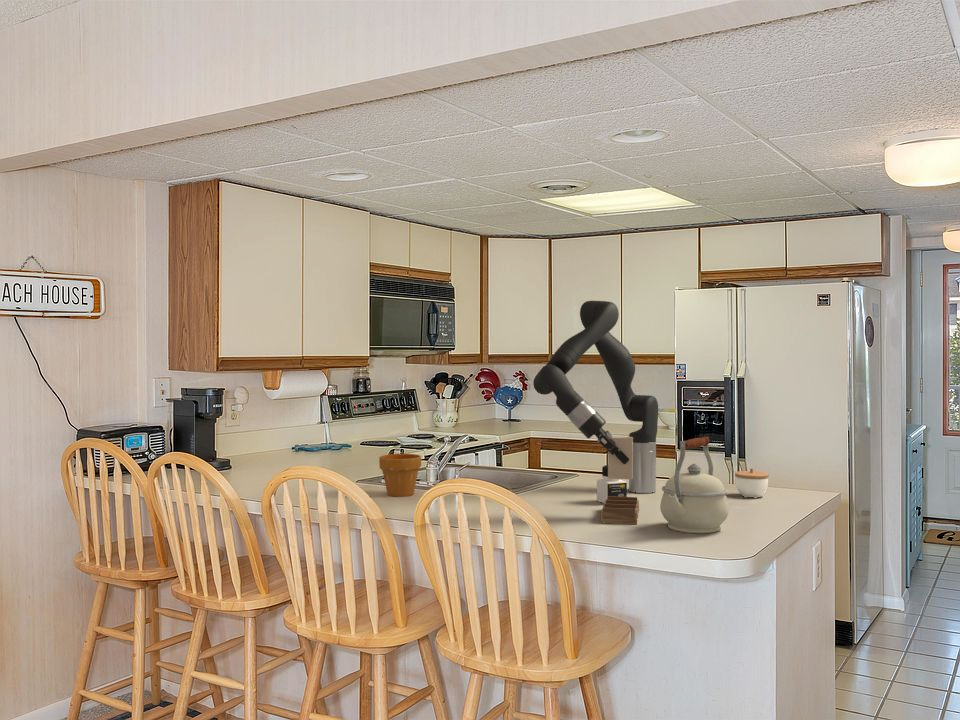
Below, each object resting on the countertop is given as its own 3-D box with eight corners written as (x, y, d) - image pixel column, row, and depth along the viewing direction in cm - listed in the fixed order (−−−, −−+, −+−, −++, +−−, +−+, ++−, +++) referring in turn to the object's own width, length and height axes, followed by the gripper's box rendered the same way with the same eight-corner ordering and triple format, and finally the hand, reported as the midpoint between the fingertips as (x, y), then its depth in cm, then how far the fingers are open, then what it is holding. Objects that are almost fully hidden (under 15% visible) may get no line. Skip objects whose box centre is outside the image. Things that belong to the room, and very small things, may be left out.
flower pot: (374, 497, 284) (373, 458, 284) (386, 490, 298) (386, 453, 298) (415, 498, 282) (415, 459, 282) (425, 491, 296) (425, 454, 296)
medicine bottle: (607, 505, 270) (607, 467, 270) (596, 501, 277) (596, 464, 277) (627, 503, 273) (627, 466, 273) (615, 499, 280) (615, 463, 279)
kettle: (681, 517, 251) (681, 433, 251) (741, 526, 239) (742, 437, 239) (639, 532, 232) (640, 440, 231) (703, 542, 220) (703, 445, 220)
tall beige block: (608, 476, 255) (609, 436, 255) (632, 477, 254) (632, 436, 253) (607, 478, 251) (608, 437, 251) (632, 479, 250) (632, 438, 249)
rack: (605, 509, 263) (606, 495, 263) (638, 510, 261) (639, 497, 261) (601, 522, 244) (601, 508, 244) (636, 524, 242) (636, 509, 242)
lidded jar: (735, 498, 282) (735, 470, 282) (734, 493, 292) (734, 465, 292) (769, 499, 279) (770, 471, 279) (767, 494, 290) (767, 466, 290)
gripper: (593, 412, 247) (635, 455, 244) (597, 408, 261) (637, 449, 258) (574, 430, 248) (616, 473, 245) (579, 425, 262) (619, 466, 259)
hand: (627, 460), depth 252 cm, fingers closed on tall beige block, 4 cm apart
